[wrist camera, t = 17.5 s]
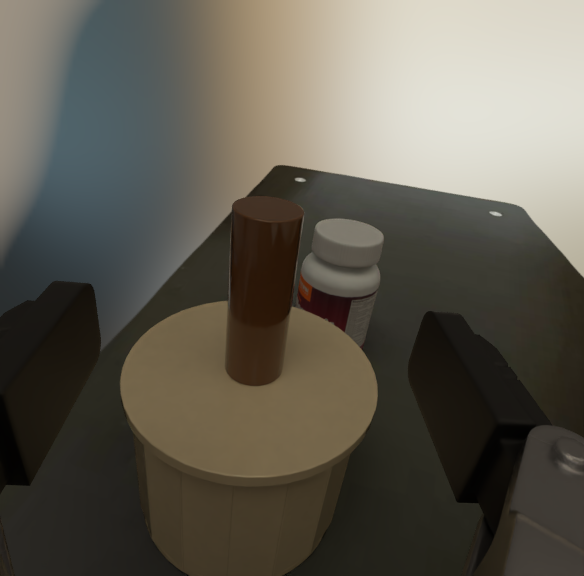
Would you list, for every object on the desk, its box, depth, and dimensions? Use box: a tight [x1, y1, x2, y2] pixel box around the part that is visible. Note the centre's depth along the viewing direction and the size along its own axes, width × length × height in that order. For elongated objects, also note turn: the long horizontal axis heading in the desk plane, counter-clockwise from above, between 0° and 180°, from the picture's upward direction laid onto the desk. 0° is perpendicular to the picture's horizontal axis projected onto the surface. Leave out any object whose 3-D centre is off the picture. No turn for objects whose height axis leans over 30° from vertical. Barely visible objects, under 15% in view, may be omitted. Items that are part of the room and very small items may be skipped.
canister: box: [133, 432, 351, 576], centre depth 23 cm, size 11×11×8 cm
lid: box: [120, 196, 378, 487], centre depth 19 cm, size 12×12×9 cm
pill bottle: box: [295, 219, 384, 349], centre depth 34 cm, size 6×6×11 cm
